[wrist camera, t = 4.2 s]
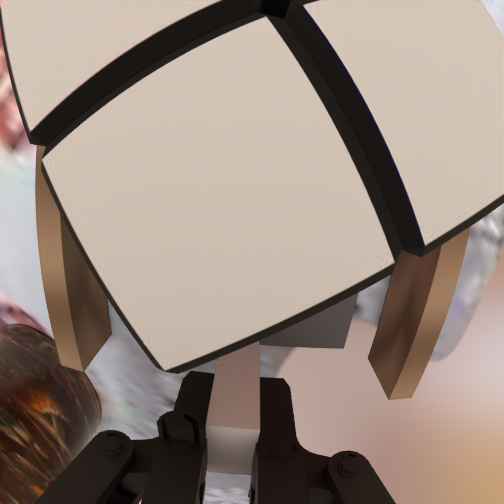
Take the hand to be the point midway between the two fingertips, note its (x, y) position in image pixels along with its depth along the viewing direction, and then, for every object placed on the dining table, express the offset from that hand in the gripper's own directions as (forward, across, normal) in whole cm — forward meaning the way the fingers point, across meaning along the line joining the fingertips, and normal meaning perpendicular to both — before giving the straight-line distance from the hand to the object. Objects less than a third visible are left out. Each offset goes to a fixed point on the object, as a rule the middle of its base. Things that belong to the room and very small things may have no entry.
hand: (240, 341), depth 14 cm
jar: (+3, +16, +10) cm, 19 cm away
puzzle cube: (+3, 0, -10) cm, 11 cm away
